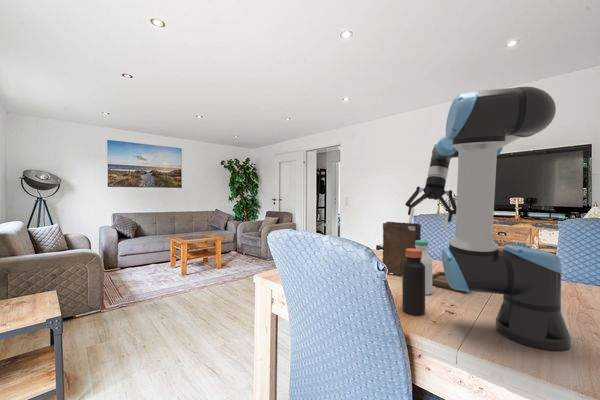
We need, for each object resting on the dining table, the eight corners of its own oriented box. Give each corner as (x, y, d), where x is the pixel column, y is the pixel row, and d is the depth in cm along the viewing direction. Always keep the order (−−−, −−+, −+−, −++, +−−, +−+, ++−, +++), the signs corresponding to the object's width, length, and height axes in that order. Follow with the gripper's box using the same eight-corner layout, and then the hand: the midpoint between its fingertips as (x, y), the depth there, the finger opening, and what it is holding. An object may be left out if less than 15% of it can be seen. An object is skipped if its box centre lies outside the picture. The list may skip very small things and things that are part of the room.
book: (422, 276, 125) (422, 223, 124) (417, 280, 119) (417, 224, 119) (386, 270, 135) (386, 221, 135) (381, 273, 130) (381, 222, 129)
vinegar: (421, 317, 82) (421, 252, 82) (399, 311, 86) (399, 250, 86) (427, 310, 87) (427, 249, 87) (406, 305, 91) (406, 247, 91)
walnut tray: (467, 294, 102) (467, 287, 102) (424, 284, 113) (424, 278, 113) (478, 284, 112) (479, 279, 112) (438, 276, 124) (438, 271, 124)
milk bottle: (427, 288, 108) (427, 239, 108) (435, 295, 100) (435, 242, 100) (408, 288, 109) (408, 239, 109) (414, 294, 101) (414, 242, 101)
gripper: (470, 184, 112) (461, 233, 109) (407, 178, 125) (398, 221, 122) (470, 178, 105) (461, 230, 102) (405, 172, 119) (395, 218, 116)
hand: (426, 226), depth 112 cm, fingers open, 13 cm apart
